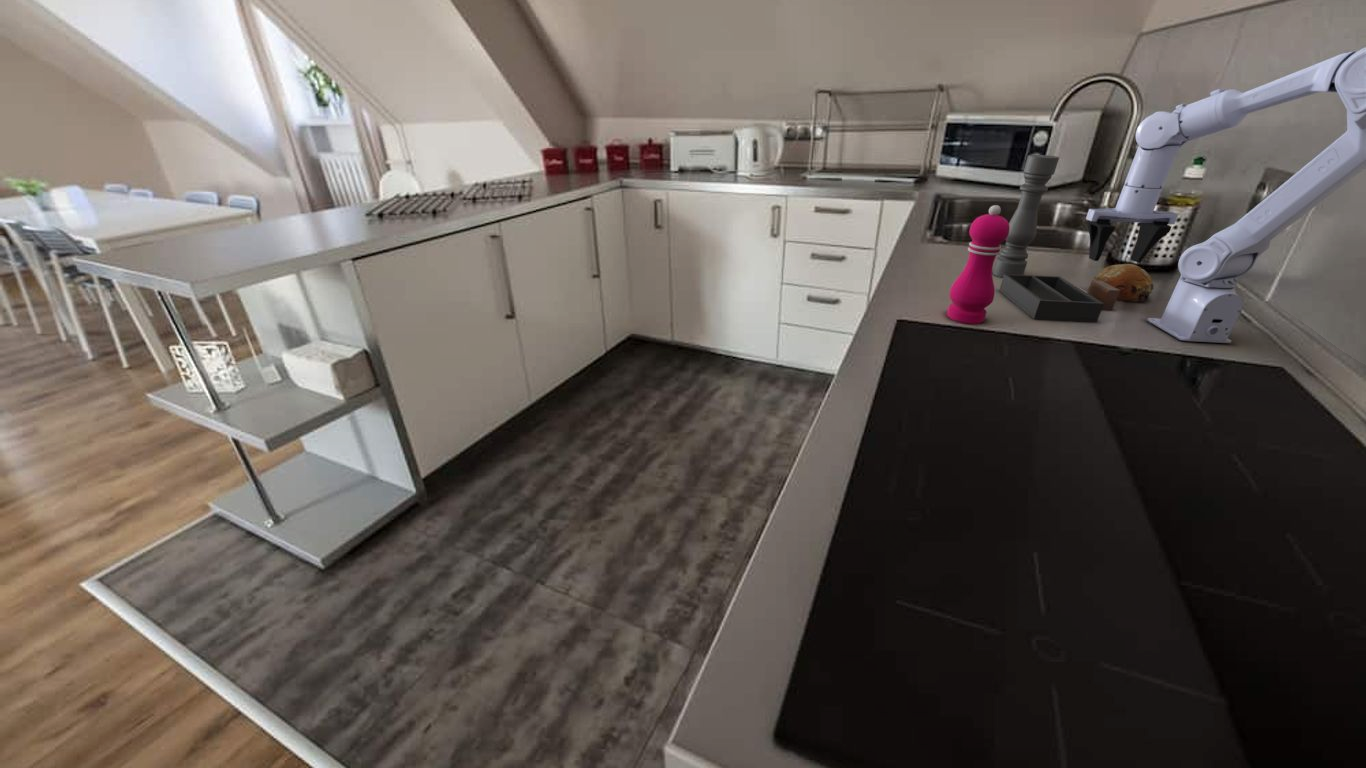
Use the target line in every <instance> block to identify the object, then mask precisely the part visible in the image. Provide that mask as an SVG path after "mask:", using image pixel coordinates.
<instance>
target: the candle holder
mask: <svg viewBox="0 0 1366 768" xmlns="http://www.w3.org/2000/svg"><path fill="white" fill-rule="evenodd" d="M1059 160H1060V156H1055V155H1046V154H1028V155H1027V157H1026V161H1025V164H1024V168H1023V171H1022V172H1023V173H1024V174H1023V178H1024V183H1023V184H1021V185H1020V186H1019V190H1020V191H1021V192H1020V193H1021V194H1020V198H1019V202H1018V204H1017V208H1016V209H1015V211H1014V213H1013V215H1012V216H1011V218H1010V220H1009V221H1008V223H1009V226H1010V230H1009V234H1008V237H1007V238H1006V239H1005V240H1004V241H1006V242H1005V246H1004V247H1003V248H1002V249H1000V254H998V255H999V256H996V258H995V262H994V265H993V268H992V275H994V276H996V277H999V278H1002V279H1003V276H1004V274H1014V275H1025V271H1026V269H1027V265H1028V261H1027V259H1028V258H1029V254H1028V251H1027V248H1028V247H1029V245H1030V244H1031V243H1032V242H1033V241H1034V240H1035V238H1036V236H1037V231H1038V230H1037V229H1038V215H1039V213H1038V211H1039V207H1040V204H1041V200H1042V197H1043V195H1044V194H1045V193H1047V192H1048V190H1049V188H1048V186H1047V185H1046V184H1048V182H1049V181H1050V180H1051V179H1052V177H1053V175H1054V174H1056V173H1055V172H1056V169H1057V165H1058V162H1059Z"/></svg>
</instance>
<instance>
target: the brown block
mask: <svg viewBox="0 0 1366 768" xmlns="http://www.w3.org/2000/svg"><path fill="white" fill-rule="evenodd" d="M1075 286H1076V287H1078V288H1079V289H1081V290H1083V291H1084V292H1086V293H1088V294H1089V295H1091V296H1092V297H1094V298H1096V299H1097V300H1099V301H1101V302H1102V303H1104V305H1103V308H1102V310H1101V311H1113V309H1114V307H1115V305H1116V302H1117V300H1116V299H1117V297H1118V295H1119V292H1120V290H1118V289H1116V288H1115V287H1113V286H1111V285H1109V284H1107V283H1106V282H1104V281H1098V280H1093V279H1092V280H1091V281H1090V285H1089V287H1088V290H1085V289H1083V288H1081V287H1080V286H1078V285H1075Z"/></svg>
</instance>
